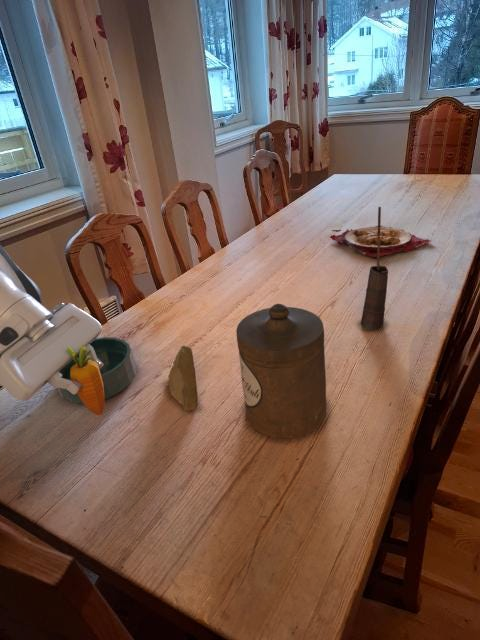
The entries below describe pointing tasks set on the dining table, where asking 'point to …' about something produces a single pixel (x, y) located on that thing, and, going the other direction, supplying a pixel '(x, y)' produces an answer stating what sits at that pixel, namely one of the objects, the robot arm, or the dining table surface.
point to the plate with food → (389, 240)
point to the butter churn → (375, 292)
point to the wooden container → (283, 370)
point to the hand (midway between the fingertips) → (89, 379)
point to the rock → (184, 379)
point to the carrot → (88, 381)
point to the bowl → (107, 367)
